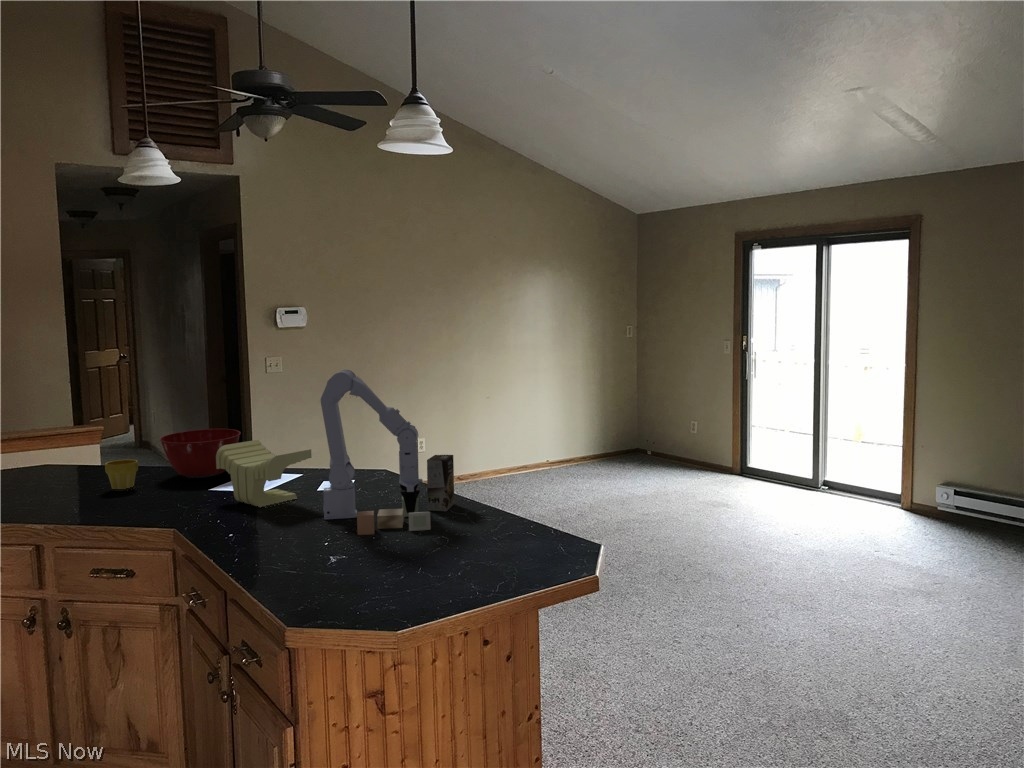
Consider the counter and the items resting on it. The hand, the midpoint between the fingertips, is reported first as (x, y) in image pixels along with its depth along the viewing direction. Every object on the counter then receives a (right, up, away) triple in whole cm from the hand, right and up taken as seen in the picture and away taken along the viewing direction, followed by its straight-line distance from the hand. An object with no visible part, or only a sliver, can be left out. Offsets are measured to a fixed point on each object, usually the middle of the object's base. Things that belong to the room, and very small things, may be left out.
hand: (410, 509), depth 241 cm
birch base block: (-4, -3, -11) cm, 12 cm away
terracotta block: (-10, -4, -18) cm, 21 cm away
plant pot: (-106, +1, +38) cm, 112 cm away
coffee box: (+9, -1, +8) cm, 12 cm away
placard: (+5, -3, -16) cm, 17 cm away
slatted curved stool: (-50, 0, +18) cm, 53 cm away
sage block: (0, -2, 0) cm, 2 cm away
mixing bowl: (-86, +4, +59) cm, 105 cm away
